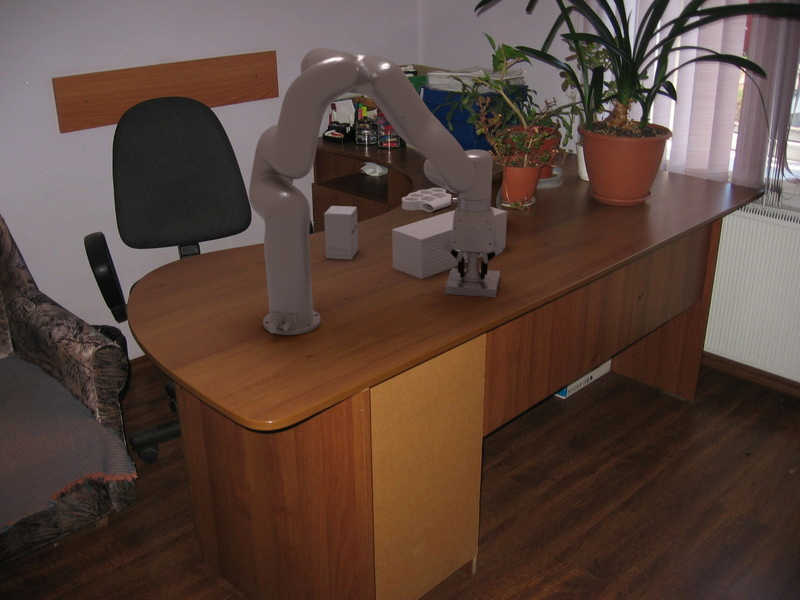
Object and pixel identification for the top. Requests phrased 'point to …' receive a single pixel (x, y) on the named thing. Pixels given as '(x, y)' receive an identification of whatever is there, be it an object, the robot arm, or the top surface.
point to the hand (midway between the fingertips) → (472, 275)
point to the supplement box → (341, 232)
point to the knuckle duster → (427, 200)
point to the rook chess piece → (472, 268)
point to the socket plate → (472, 284)
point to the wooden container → (495, 188)
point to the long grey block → (433, 244)
